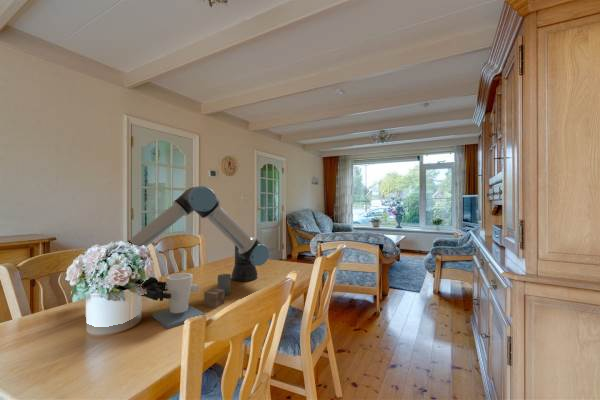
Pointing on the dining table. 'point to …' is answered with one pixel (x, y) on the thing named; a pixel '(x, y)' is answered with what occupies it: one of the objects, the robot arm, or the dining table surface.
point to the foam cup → (179, 290)
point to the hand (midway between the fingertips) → (188, 292)
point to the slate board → (176, 316)
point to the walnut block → (214, 297)
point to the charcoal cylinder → (224, 283)
